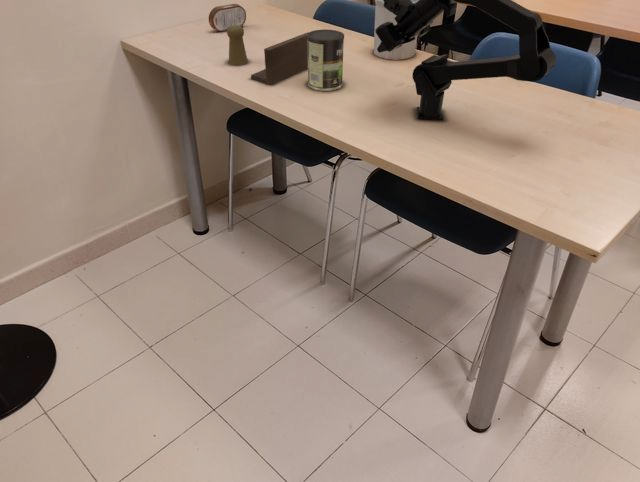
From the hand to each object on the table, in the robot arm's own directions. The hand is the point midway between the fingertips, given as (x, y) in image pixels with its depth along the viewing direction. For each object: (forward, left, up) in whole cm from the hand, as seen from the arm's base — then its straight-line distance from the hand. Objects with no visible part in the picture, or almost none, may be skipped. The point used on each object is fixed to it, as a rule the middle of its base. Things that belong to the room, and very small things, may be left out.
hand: (381, 49), depth 130 cm
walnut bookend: (+18, +29, -14) cm, 37 cm away
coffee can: (+9, +15, -14) cm, 23 cm away
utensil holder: (+39, -6, -14) cm, 42 cm away
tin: (+60, +55, -14) cm, 83 cm away
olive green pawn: (+25, +45, -14) cm, 53 cm away
